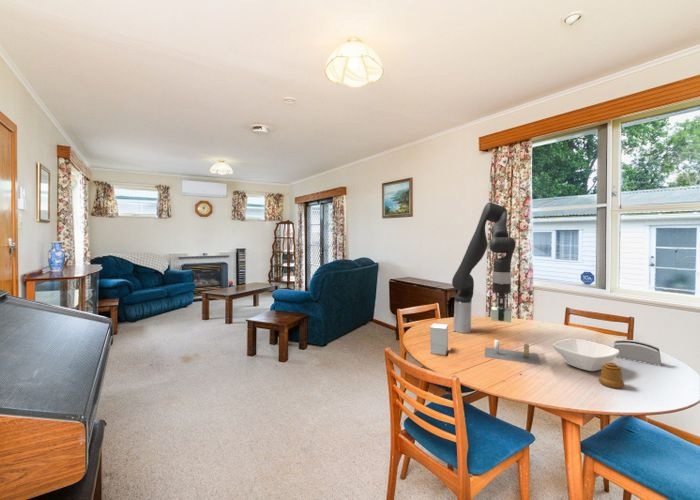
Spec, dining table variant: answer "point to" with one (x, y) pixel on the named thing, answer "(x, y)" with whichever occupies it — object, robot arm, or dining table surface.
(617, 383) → the ornamental finial
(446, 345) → the supplement box
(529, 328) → the dining table surface
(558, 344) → the bowl
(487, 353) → the board
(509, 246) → the robot arm
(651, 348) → the grey curved slab
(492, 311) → the collar
